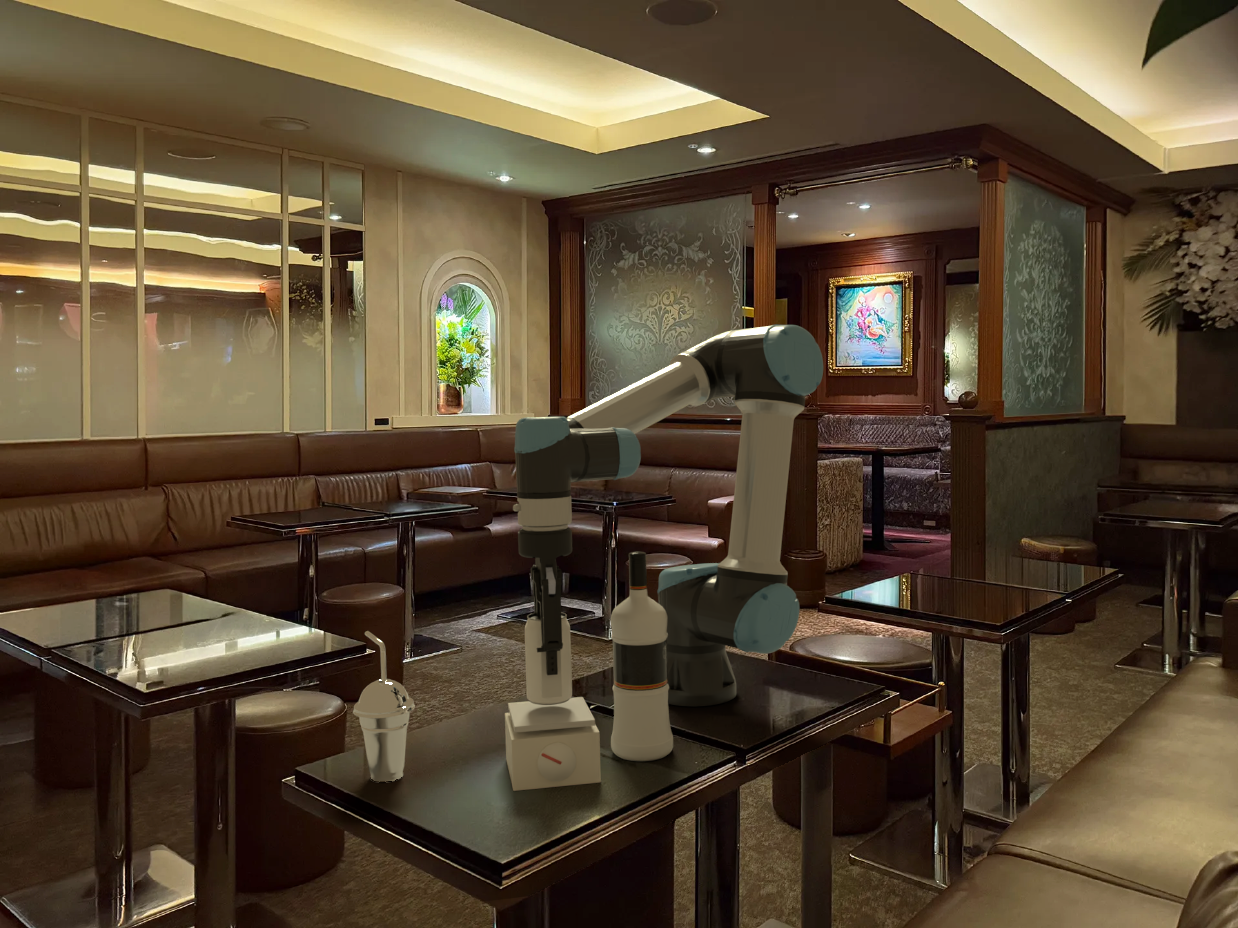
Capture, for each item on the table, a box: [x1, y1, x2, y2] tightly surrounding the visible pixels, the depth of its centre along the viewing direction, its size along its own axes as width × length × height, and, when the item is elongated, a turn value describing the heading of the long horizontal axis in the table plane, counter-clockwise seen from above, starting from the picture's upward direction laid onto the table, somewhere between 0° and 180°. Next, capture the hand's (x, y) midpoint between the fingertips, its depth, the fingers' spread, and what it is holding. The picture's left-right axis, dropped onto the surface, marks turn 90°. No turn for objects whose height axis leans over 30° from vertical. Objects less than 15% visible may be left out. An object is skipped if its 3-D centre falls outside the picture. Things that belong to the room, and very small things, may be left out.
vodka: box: [610, 550, 674, 763], centre depth 145 cm, size 9×9×30 cm
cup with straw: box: [352, 630, 416, 783], centre depth 139 cm, size 8×9×20 cm
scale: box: [504, 696, 602, 792], centre depth 139 cm, size 12×13×9 cm
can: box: [524, 611, 573, 705], centre depth 140 cm, size 6×6×12 cm
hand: (549, 690), depth 139 cm, fingers closed on can, 4 cm apart
